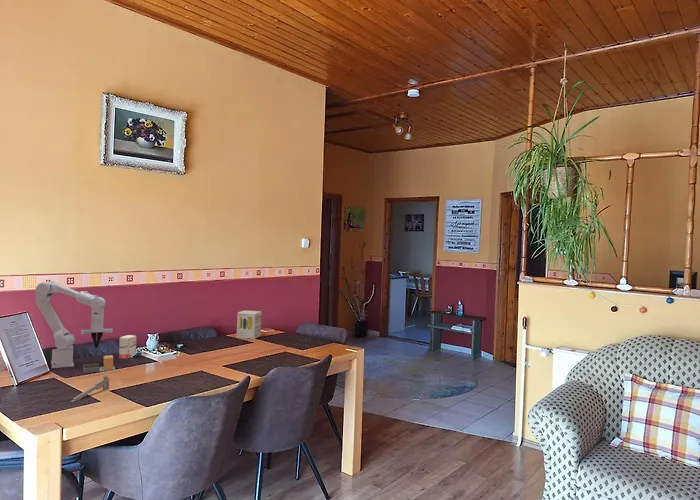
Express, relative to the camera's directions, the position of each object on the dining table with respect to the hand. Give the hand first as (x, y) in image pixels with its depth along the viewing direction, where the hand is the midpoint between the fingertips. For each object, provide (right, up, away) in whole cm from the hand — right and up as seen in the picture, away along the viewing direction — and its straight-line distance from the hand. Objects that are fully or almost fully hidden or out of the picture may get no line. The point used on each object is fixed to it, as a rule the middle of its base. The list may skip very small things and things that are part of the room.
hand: (96, 347), depth 251 cm
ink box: (+7, -10, +19) cm, 23 cm away
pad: (+9, -10, -6) cm, 15 cm away
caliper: (+22, -11, -46) cm, 52 cm away
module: (+9, -9, -7) cm, 15 cm away
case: (+1, -10, -7) cm, 12 cm away
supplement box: (+59, -11, +91) cm, 109 cm away
